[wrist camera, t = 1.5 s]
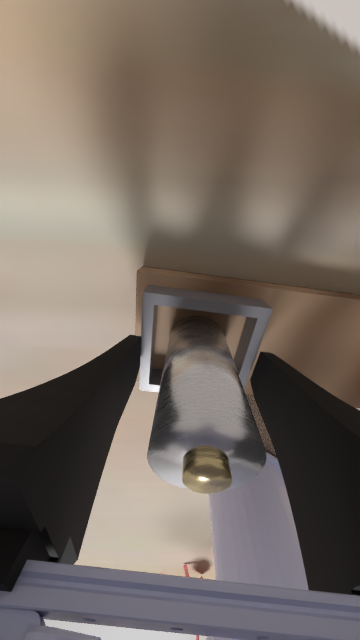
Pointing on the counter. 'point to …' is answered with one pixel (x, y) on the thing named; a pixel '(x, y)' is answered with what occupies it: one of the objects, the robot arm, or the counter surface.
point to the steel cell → (203, 414)
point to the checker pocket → (209, 302)
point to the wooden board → (274, 326)
